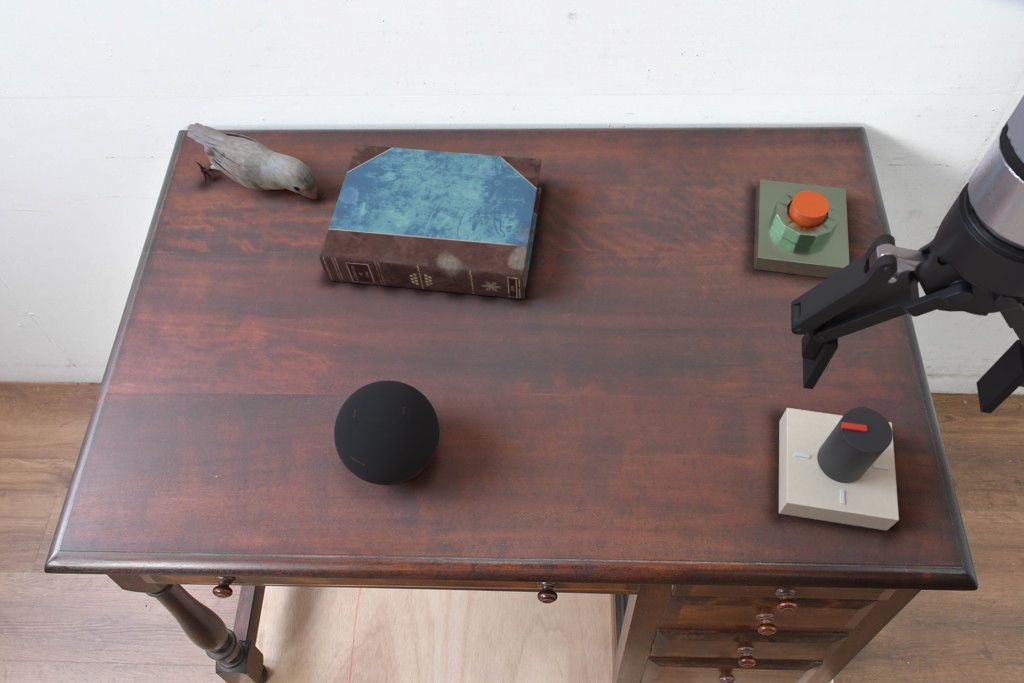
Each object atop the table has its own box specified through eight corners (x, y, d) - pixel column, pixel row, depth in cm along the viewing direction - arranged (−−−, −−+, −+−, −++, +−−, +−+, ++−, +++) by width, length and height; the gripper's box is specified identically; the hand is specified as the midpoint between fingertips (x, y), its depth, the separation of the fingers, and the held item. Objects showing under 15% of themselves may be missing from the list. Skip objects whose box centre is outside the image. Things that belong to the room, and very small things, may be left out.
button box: (843, 280, 90) (855, 258, 87) (753, 269, 91) (761, 247, 88) (840, 200, 96) (850, 177, 93) (755, 191, 97) (763, 168, 94)
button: (825, 229, 89) (829, 219, 88) (788, 225, 90) (792, 215, 88) (824, 202, 92) (828, 192, 90) (788, 198, 92) (792, 188, 91)
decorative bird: (309, 215, 98) (292, 172, 91) (197, 184, 101) (174, 140, 95) (329, 184, 100) (314, 140, 94) (219, 155, 104) (198, 110, 97)
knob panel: (887, 530, 75) (900, 519, 72) (778, 513, 76) (787, 502, 73) (880, 435, 80) (892, 421, 77) (779, 420, 81) (787, 406, 79)
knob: (863, 443, 76) (892, 409, 70) (866, 486, 74) (895, 455, 68) (816, 437, 77) (840, 402, 71) (817, 479, 75) (842, 447, 68)
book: (328, 283, 92) (318, 257, 88) (364, 171, 101) (356, 142, 97) (523, 302, 90) (522, 276, 86) (542, 186, 99) (542, 157, 95)
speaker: (438, 402, 84) (427, 353, 75) (450, 491, 78) (438, 450, 70) (344, 417, 83) (321, 370, 75) (348, 508, 78) (325, 468, 69)
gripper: (811, 234, 46) (735, 404, 64) (1289, 287, 43) (1068, 451, 61) (809, 141, 50) (738, 327, 68) (1247, 185, 47) (1051, 367, 65)
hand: (894, 386), depth 64 cm, fingers open, 13 cm apart
